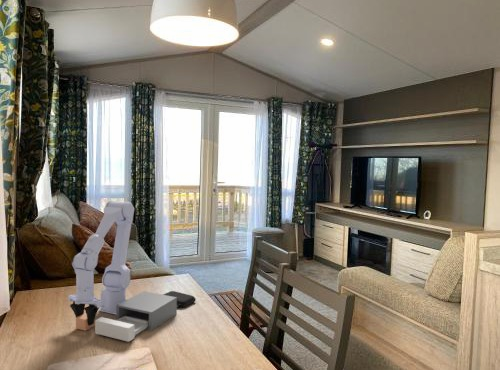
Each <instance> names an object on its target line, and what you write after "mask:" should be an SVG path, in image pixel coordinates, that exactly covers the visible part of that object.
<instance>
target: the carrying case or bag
mask: <svg viewBox="0 0 500 370" xmlns="http://www.w3.org/2000/svg"><path fill="white" fill-rule="evenodd" d="M162 295H167V296H172V297H177V308H180V309H184V308H186V307H189V306H190V305H192V304H194V303H195V302H196V298H195V296H193V295H191V294H187V293H183V292H180V291H175V290H171V291H168V292H165V293H164V294H162Z"/></svg>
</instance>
